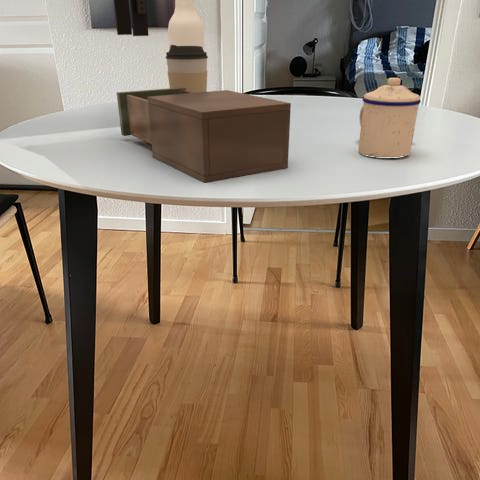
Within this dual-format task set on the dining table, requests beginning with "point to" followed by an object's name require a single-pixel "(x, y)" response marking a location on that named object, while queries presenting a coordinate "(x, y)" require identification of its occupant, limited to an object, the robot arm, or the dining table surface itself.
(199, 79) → the coffee cup
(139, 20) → the robot arm
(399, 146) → the teacup with lid
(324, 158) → the dining table surface
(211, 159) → the cabinet
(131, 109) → the drawer
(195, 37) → the alcohol
